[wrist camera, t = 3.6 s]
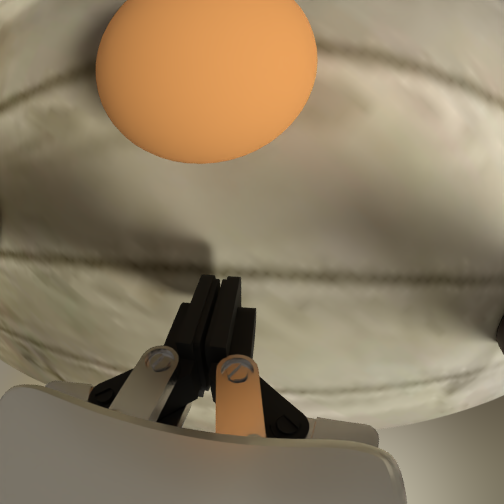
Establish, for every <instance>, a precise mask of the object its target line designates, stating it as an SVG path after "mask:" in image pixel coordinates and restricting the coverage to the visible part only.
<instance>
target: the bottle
mask: <svg viewBox="0 0 504 504" xmlns="http://www.w3.org/2000/svg"><path fill="white" fill-rule="evenodd" d="M497 342H498V345H499V347H500V349H501V350H502V352H503V354H504V317H503V319H502V321H501V323H500V326H499V328H498V332H497Z"/></svg>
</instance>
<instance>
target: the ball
mask: <svg viewBox="0 0 504 504" xmlns="http://www.w3.org/2000/svg"><path fill="white" fill-rule="evenodd" d="M316 71H317V47H316V43H315V38H314V34H313V31H312V29H311V26H310V24H309V21H308V19H307V17H306V16H305V14H304V13H303V11H302V9H301V8H300V7H299V5H298V4H297V3H296V2H295V1H294V0H127V1H126V2H125V3H124V4H123V5H122V6H121V7H120V9H119V10H118V11H117V12H116V13H115V15H114V16H113V18H112V19H111V21H110V22H109V24H108V26H107V28H106V30H105V32H104V34H103V36H102V39H101V42H100V45H99V49H98V53H97V58H96V82H97V88H98V93H99V96H100V99H101V102H102V105H103V107H104V109H105V111H106V113H107V115H108V117H109V118H110V119H111V121H112V122H113V124H114V125H115V126H116V127H117V128H118V129H119V131H120V132H121V133H122V134H123V135H124V136H125V137H126V138H128V139H129V140H130V141H131V142H132V143H134V144H135V145H137V146H138V147H140V148H142V149H143V150H145V151H147V152H150V153H152V154H154V155H156V156H159V157H162V158H165V159H168V160H172V161H177V162H183V163H197V164H203V163H217V162H222V161H227V160H232V159H235V158H238V157H241V156H245V155H247V154H249V153H251V152H254V151H256V150H258V149H260V148H261V147H263V146H265V145H266V144H268V143H270V142H271V141H272V140H274V139H275V138H276V137H278V136H279V135H280V134H281V133H283V132H284V131H285V130H286V129H287V128H288V127H289V126H290V125H291V124H292V122H293V121H294V120H295V119H296V117H297V116H298V115H299V113H300V112H301V111H302V109H303V107H304V105H305V104H306V102H307V100H308V98H309V96H310V93H311V91H312V88H313V85H314V81H315V77H316Z"/></svg>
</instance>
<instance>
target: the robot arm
mask: <svg viewBox="0 0 504 504" xmlns="http://www.w3.org/2000/svg"><path fill="white" fill-rule="evenodd" d="M255 327H256V308H243V307H241V277H231V276H228V277H227V280H226V279H223V280H222V283H221V287H220V280H219V279H216V278H215V275H202V276H201V278H200V280H199V283H198V285H197V288H196V290H195V293H194V295H193V298H192V300H191V303H184V302H183V303H182V304H181V305H180V308H179V310H178V312H177V315H176V317H175V320H174V322H173V324H172V327H171V329H170V332H169V334H168V336H167V339H166V341H165V344H164V346H162V345H161V346H155V347H152V348H150V349H148V350H147V351H146V352H145V353H144V354H143V355H142V357H141V358H140V360H139V361H138V363H137V364H136V366H135V367H134V368H133V369H131V370H129V371H127V372H125V373H122V374H120V375H118V376H116V377H114V378H111V379H109V380H107V381H104V382H102V383H100V384H98V385H97V386H95V387H93V386H92V385H91V384H83V383H73V382H65V381H51V382H49V383H48V384H47V385H46V386H45V387H44V386H38V385H18V386H14V387H12V388H10V389H9V390H8V391H7V392H6V393H5V394H4V395H3V396H2V398H1V399H0V504H407V499H406V492H405V487H404V482H403V478H402V474H401V471H400V469H399V466H398V464H397V462H396V460H395V459H394V458H393V457H392V455H390V454H389V453H388V452H386V451H384V450H382V449H380V448H378V444H379V436H378V433H377V431H376V430H375V429H374V428H373V427H372V426H370V425H366V424H359V423H351V422H344V421H337V420H331V419H325V418H319V417H317V419H313V418H308V417H306V416H305V415H304V414H303V413H302V412H300V411H299V410H298V409H297V408H296V407H294V406H293V405H292V404H291V403H290V402H288V401H287V400H286V399H285V398H284V397H282V396H281V395H280V394H279V393H278V392H277V391H275V390H274V389H273V388H272V387H271V386H270V385H269V384H267V383H266V382H265V381H264V380H263V379H262V378H261V377H260V376H259V371H258V367H257V364H256V363H255V361H254V360H253V350H254V340H255ZM210 387H211V392H212V397H213V401H214V402H215V403H216V433H212V432H205V431H199V430H192V429H187V428H182V426H183V424H184V421H185V419H186V417H187V415H188V412H189V410H190V408H191V404H192V403H191V402H192V401H194V400H196V399H197V398H198V396H199V397H203V395H204V390H206V391H209V388H210Z"/></svg>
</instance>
